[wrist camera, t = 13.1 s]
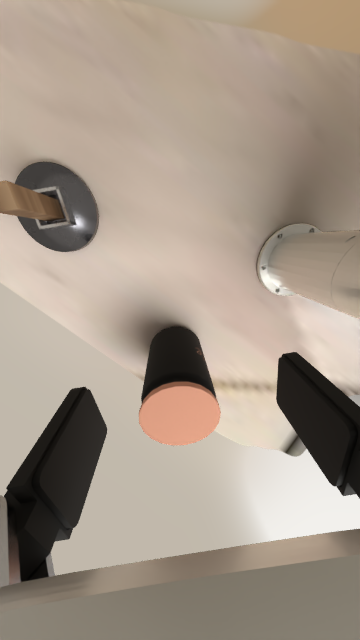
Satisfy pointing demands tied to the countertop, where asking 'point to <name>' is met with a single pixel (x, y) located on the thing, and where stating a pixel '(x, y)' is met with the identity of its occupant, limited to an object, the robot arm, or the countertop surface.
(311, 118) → the countertop surface
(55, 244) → the round metal socket base
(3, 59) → the countertop surface
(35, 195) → the tan wooden beam
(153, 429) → the coffee jar
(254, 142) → the countertop surface
